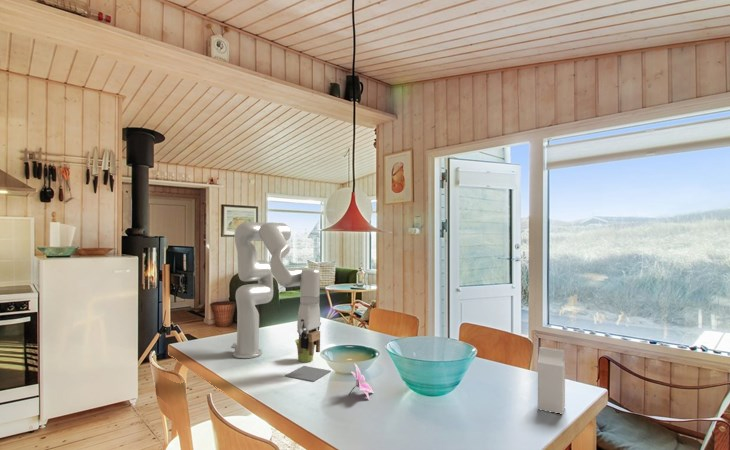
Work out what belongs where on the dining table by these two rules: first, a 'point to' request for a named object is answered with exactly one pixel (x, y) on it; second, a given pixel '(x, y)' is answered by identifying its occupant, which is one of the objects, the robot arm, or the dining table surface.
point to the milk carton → (551, 380)
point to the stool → (311, 342)
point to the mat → (308, 373)
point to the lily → (361, 382)
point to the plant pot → (303, 354)
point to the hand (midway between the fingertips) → (309, 346)
